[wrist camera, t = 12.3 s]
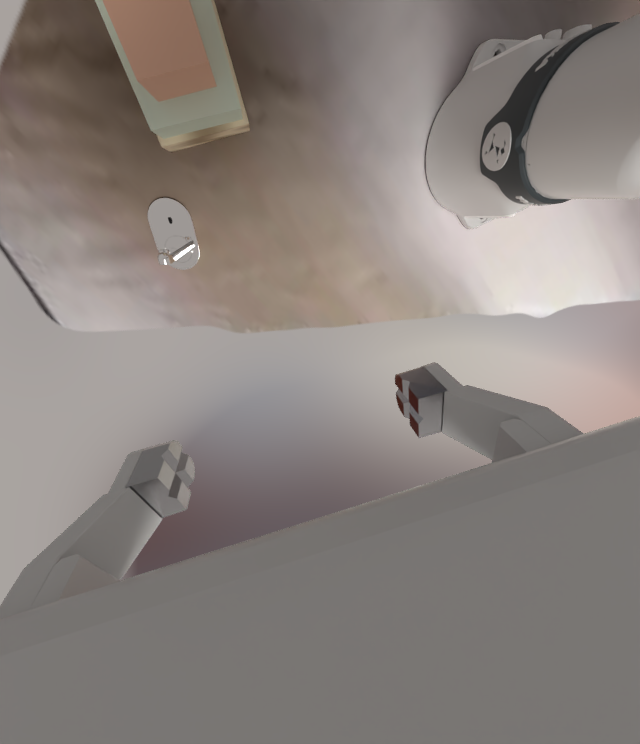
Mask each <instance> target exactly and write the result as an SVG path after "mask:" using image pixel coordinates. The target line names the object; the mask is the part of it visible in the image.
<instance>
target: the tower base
mask: <svg viewBox="0 0 640 744" xmlns="http://www.w3.org/2000/svg"><path fill="white" fill-rule="evenodd" d="M211 2H212V5H213V9H214V12H215V16H216V20H217V23H218V27H219V30H220V34H221V38H222V41H223V45H224V49H225V52H226V56H227V59H228V63H229V67H230V70H231V74H232V77H233V81H234V85H235V88H236V92H237V95H238V99H239V103H240V106H241V111H242V117H243V119H242V120H238V121H234V122H230V123H226V124H222V125H218V126H214V127H210V128H206V129H202V130H198V131H194V132H190V133H186V134H182V135H178V136H174V137H170V138H166V139H163V138H161V137H160V136H158V135H157V134H156V135H157V138H158V140H159V142H160V145H161V147H162V148H164V149H166V150H168V151H170V152H174V151H178V150H182V149H185V148H189V147H193V146H196V145H200V144H204V143H207V142H211V141H215V140H218V139H222V138H226V137H229V136H233V135H237V134H240V133H244V132H248V131H250V128H249V121H248V118H247V114H246V111H245V107H244V104H243V100H242V97H241V93H240V89H239V86H238V82H237V79H236V75H235V72H234V68H233V65H232V61H231V58H230V54H229V51H228V47H227V44H226V40H225V37H224V33H223V29H222V26H221V22H220V19H219V15H218V12H217V8H216V5H215V1H214V0H211Z"/></svg>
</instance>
